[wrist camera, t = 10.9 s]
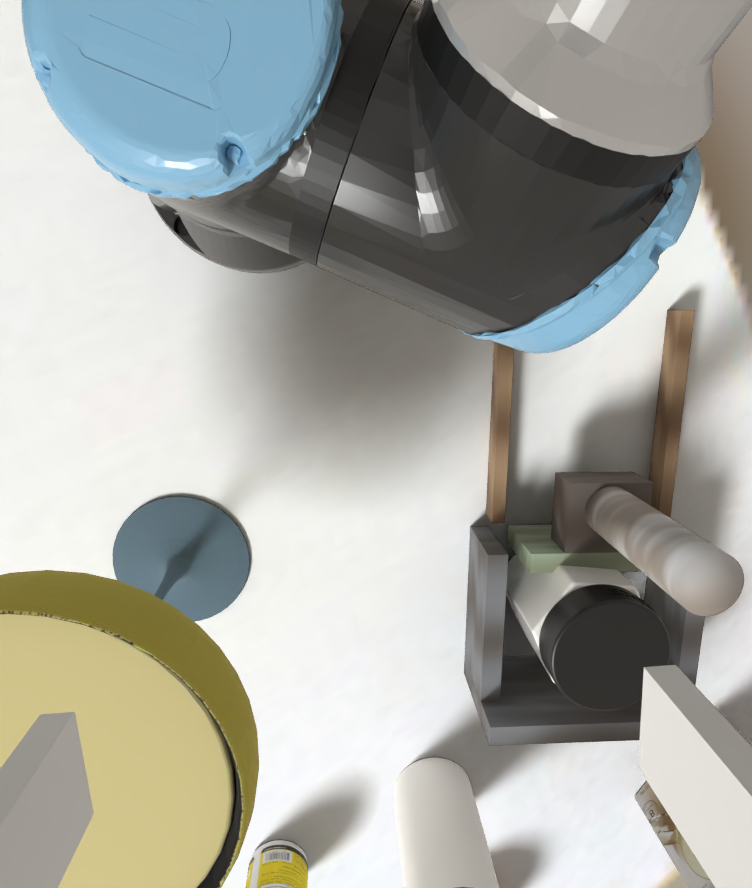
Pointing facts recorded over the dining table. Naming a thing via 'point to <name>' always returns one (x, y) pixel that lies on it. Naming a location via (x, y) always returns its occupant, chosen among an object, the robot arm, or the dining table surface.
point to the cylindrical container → (440, 828)
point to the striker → (627, 540)
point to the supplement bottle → (278, 866)
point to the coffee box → (672, 839)
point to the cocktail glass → (142, 696)
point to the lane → (486, 669)
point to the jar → (588, 631)
